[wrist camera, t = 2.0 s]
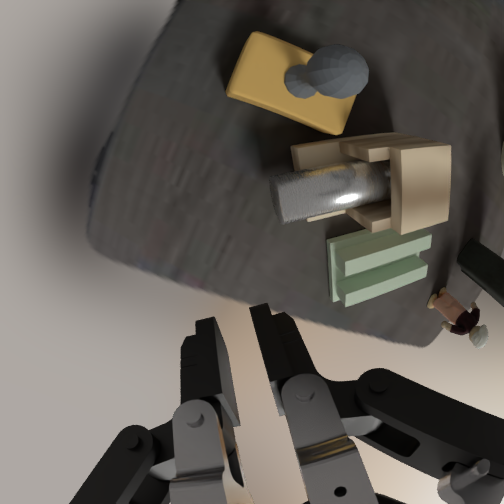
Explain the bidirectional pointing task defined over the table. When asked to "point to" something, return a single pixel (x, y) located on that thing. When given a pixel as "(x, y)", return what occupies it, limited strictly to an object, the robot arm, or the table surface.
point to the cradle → (374, 263)
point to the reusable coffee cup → (502, 159)
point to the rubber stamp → (299, 81)
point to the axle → (329, 188)
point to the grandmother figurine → (460, 317)
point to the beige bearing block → (402, 178)
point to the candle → (483, 268)
